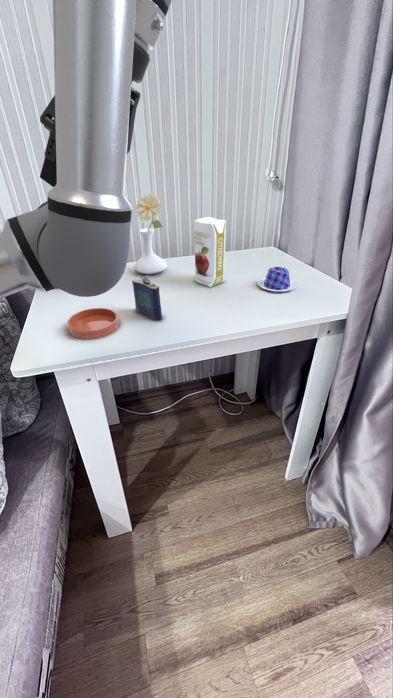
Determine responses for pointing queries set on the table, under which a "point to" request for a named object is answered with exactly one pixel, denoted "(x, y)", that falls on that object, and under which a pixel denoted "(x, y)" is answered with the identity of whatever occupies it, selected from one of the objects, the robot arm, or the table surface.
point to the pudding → (277, 280)
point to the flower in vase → (149, 235)
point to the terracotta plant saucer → (93, 323)
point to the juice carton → (209, 250)
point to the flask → (147, 298)
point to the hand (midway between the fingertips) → (76, 185)
